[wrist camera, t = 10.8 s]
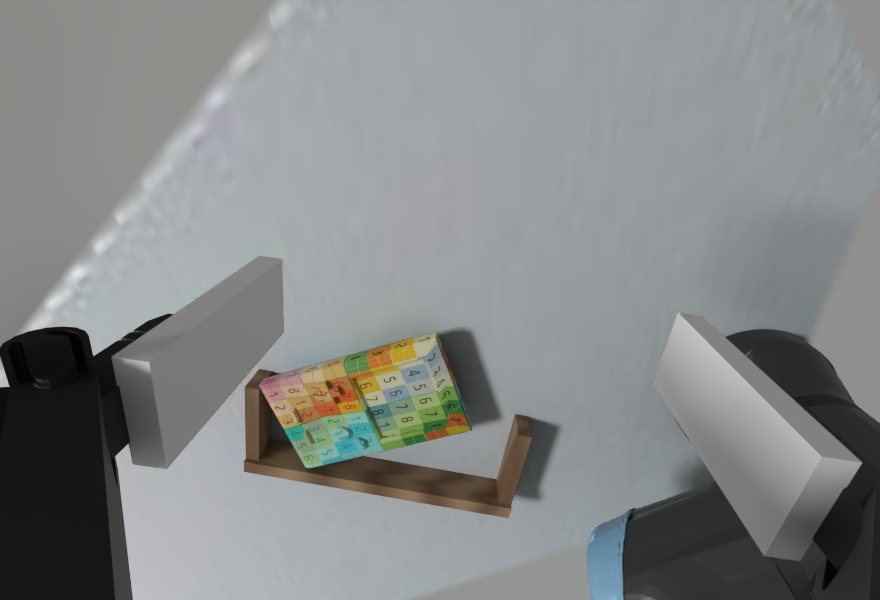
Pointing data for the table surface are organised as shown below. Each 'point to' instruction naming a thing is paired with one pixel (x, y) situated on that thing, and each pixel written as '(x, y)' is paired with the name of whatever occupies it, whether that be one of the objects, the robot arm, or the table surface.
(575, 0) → the table surface
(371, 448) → the puzzle game
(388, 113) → the table surface
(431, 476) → the frame
